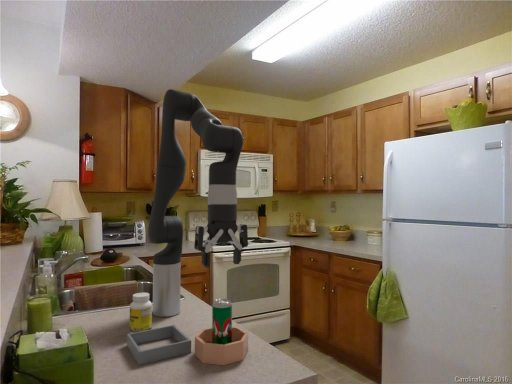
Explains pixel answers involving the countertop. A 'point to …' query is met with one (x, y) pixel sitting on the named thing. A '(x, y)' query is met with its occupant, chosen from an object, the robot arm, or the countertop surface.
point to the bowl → (221, 347)
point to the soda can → (222, 322)
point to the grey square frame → (162, 351)
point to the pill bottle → (140, 313)
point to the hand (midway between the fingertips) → (221, 265)
